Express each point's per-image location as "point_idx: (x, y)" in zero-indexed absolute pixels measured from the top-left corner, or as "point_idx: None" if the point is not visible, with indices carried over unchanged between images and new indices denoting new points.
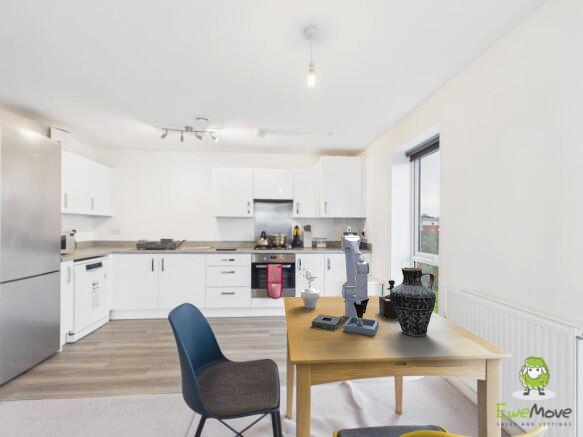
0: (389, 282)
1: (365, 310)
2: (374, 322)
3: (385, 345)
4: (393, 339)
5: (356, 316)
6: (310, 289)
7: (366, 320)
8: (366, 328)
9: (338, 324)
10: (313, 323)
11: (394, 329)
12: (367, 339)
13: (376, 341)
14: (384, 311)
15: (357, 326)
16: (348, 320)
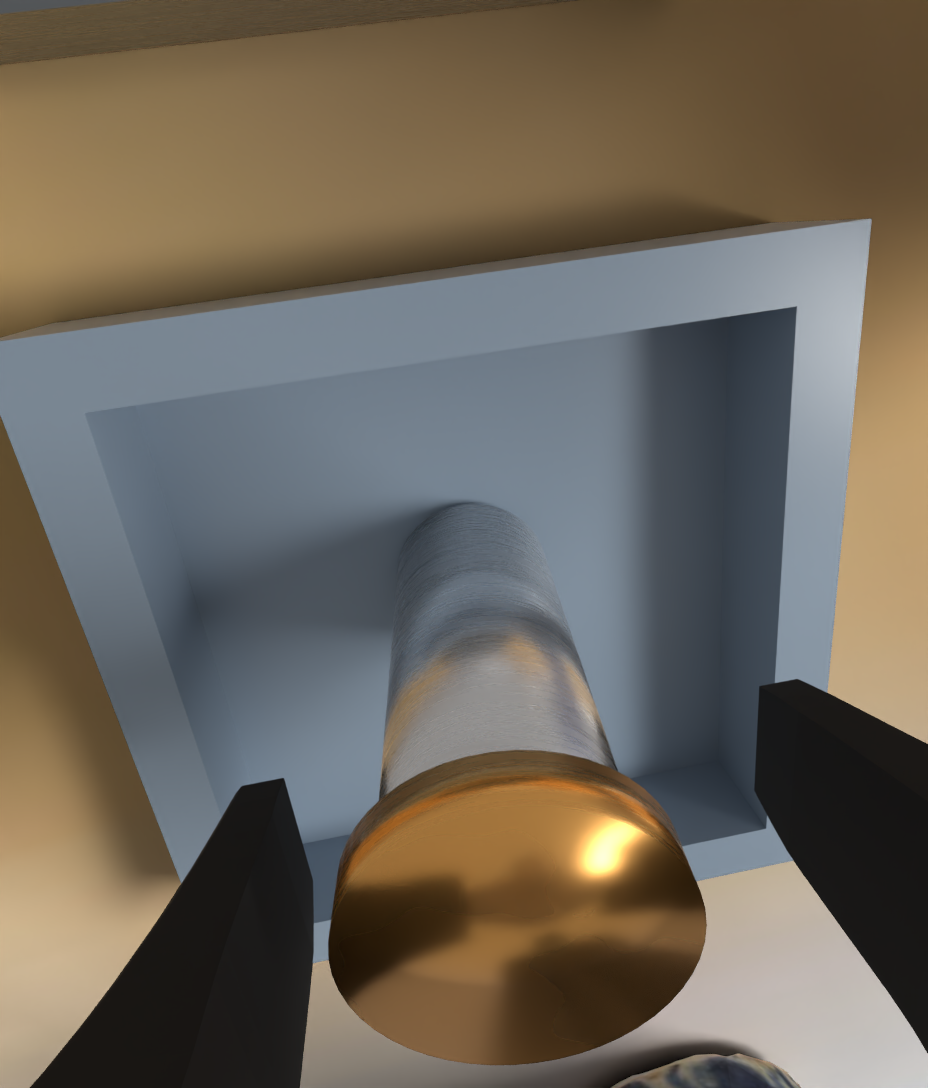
0: None
1: (810, 880)
2: (743, 778)
3: (3, 1079)
4: (302, 1069)
5: (430, 658)
6: None
7: (762, 648)
8: (177, 869)
9: (300, 15)
10: None
11: (703, 964)
12: (17, 850)
13: (50, 964)
14: None
15: (151, 694)
16: (463, 315)
